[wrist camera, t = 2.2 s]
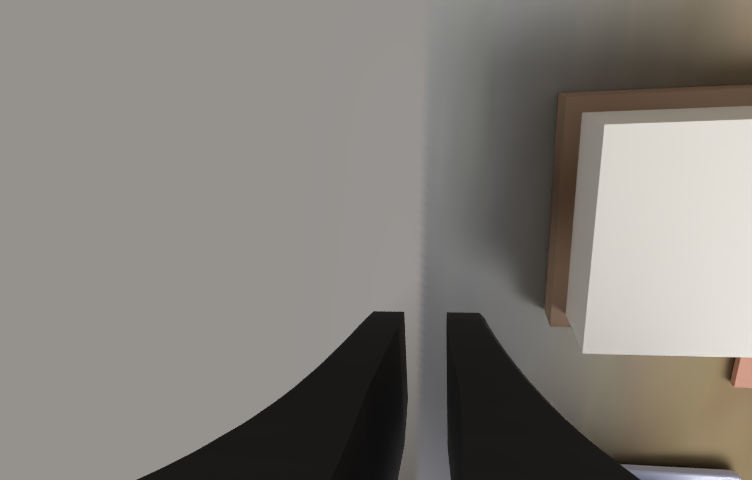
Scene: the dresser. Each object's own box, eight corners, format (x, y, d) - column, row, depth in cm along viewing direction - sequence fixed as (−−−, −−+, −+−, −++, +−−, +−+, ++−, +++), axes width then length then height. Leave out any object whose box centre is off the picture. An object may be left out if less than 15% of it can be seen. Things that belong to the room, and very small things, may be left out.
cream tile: (750, 316, 17) (796, 358, 15) (565, 314, 18) (582, 353, 16) (798, 103, 15) (862, 115, 13) (582, 112, 16) (604, 124, 14)
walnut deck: (745, 312, 19) (763, 329, 18) (544, 310, 20) (550, 326, 19) (795, 82, 16) (821, 85, 15) (558, 92, 17) (566, 96, 16)
